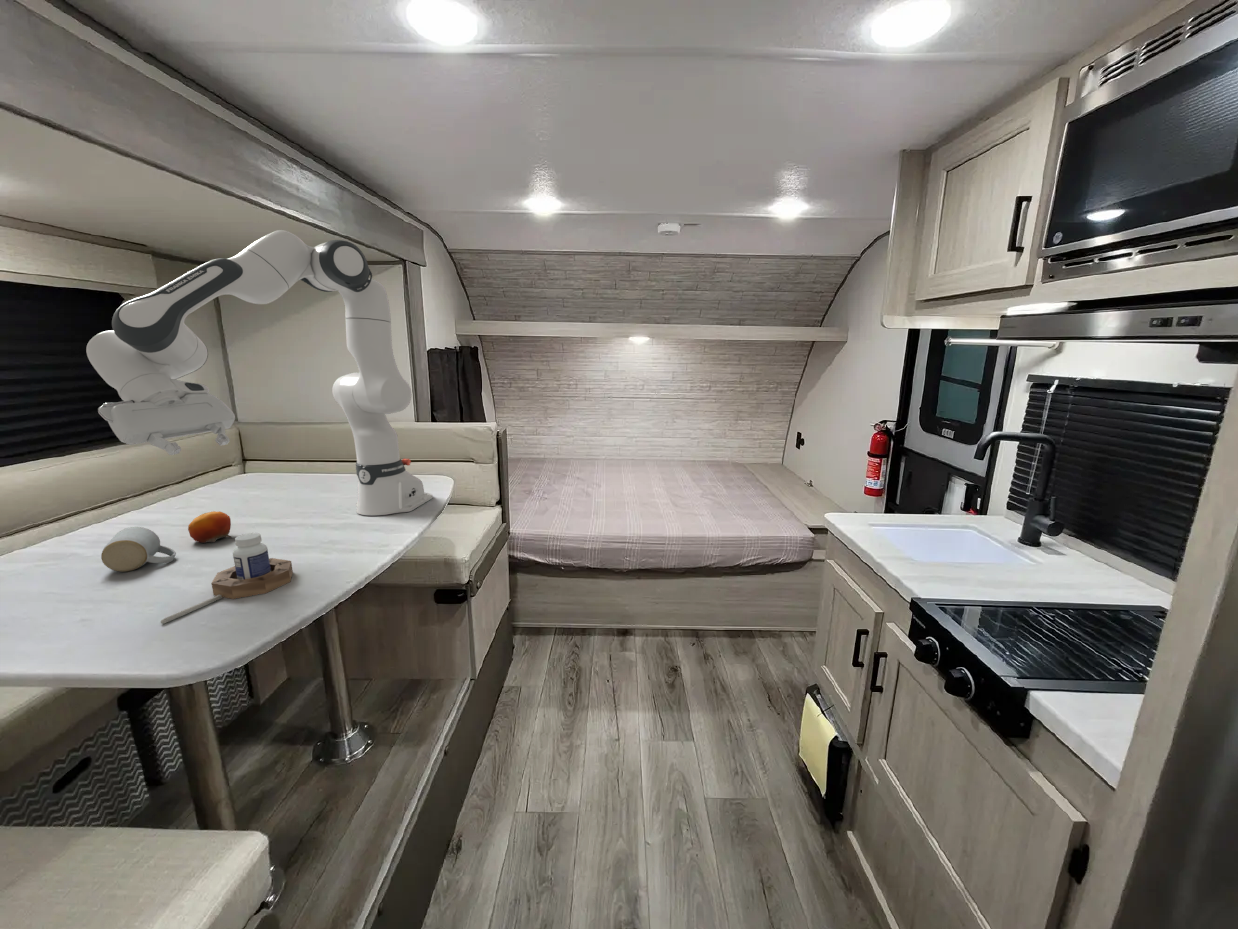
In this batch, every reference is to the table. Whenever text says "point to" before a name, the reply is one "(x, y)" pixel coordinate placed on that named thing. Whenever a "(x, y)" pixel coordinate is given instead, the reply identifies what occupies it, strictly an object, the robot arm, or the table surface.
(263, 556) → the pill bottle
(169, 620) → the grey rod
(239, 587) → the walnut ring
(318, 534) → the table surface
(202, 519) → the fruit
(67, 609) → the table surface
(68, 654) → the table surface
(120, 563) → the ceramic mug
